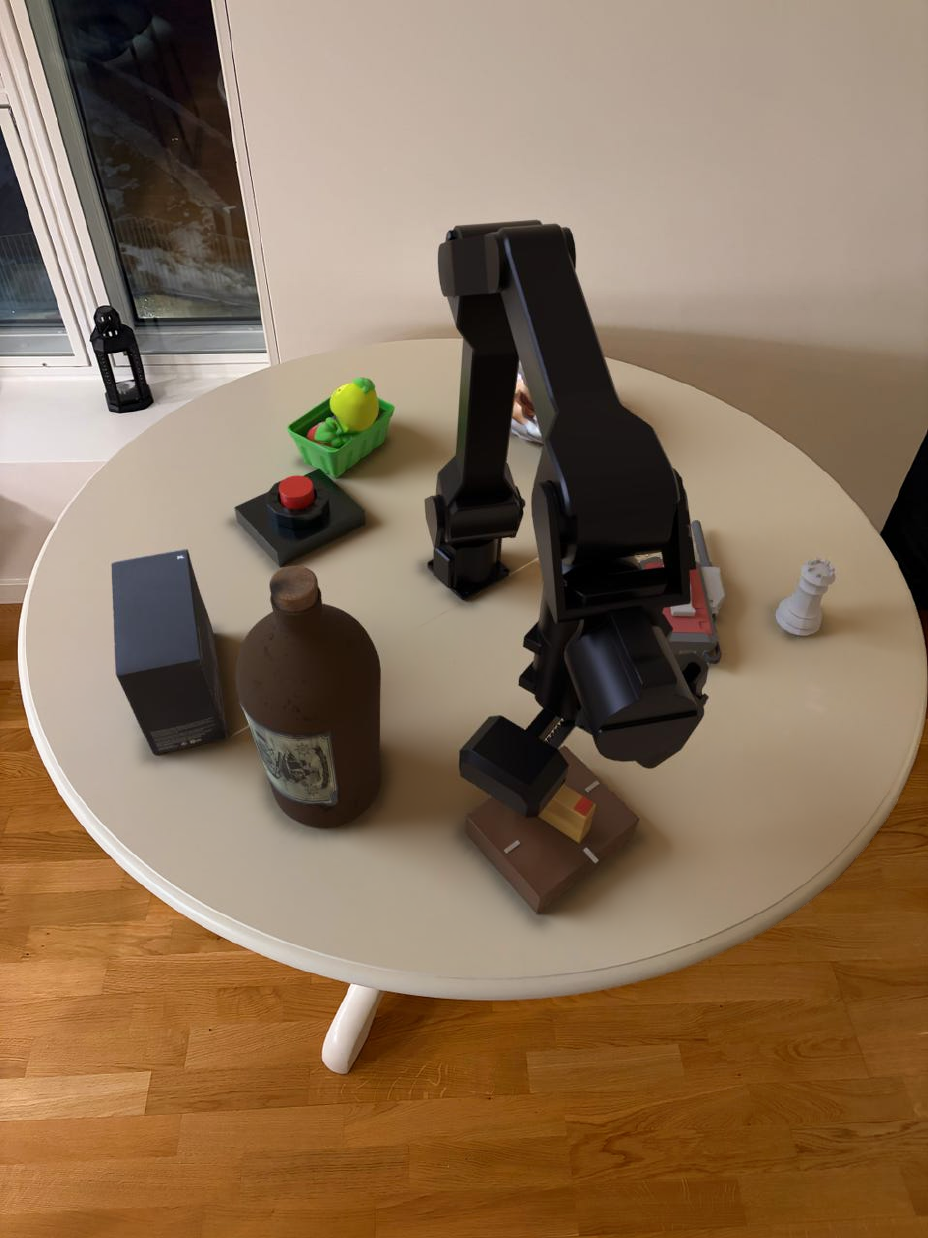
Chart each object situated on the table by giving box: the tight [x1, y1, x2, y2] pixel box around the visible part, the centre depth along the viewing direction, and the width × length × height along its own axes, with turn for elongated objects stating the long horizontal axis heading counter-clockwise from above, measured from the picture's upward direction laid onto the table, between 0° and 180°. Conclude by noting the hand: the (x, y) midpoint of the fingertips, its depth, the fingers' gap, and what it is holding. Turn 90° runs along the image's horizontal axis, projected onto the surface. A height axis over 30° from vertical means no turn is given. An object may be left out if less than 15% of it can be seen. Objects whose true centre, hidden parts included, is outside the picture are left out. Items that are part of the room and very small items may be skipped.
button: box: [279, 474, 315, 509], centre depth 96 cm, size 4×4×2 cm
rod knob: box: [538, 784, 596, 843], centre depth 71 cm, size 6×2×4 cm, turn 53°
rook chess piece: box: [775, 557, 837, 637], centre depth 89 cm, size 4×4×8 cm
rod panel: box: [464, 744, 641, 915], centre depth 74 cm, size 11×10×3 cm
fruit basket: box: [286, 376, 396, 479], centre depth 104 cm, size 11×9×11 cm
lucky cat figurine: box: [511, 362, 543, 445], centre depth 107 cm, size 15×12×14 cm
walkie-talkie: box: [638, 519, 726, 666], centre depth 92 cm, size 9×4×20 cm
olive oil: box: [235, 565, 382, 828], centre depth 69 cm, size 11×11×25 cm
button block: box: [233, 468, 366, 568], centre depth 98 cm, size 11×9×4 cm
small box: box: [111, 548, 229, 756], centre depth 80 cm, size 13×7×12 cm, turn 16°
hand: (558, 759), depth 68 cm, fingers open, 9 cm apart
